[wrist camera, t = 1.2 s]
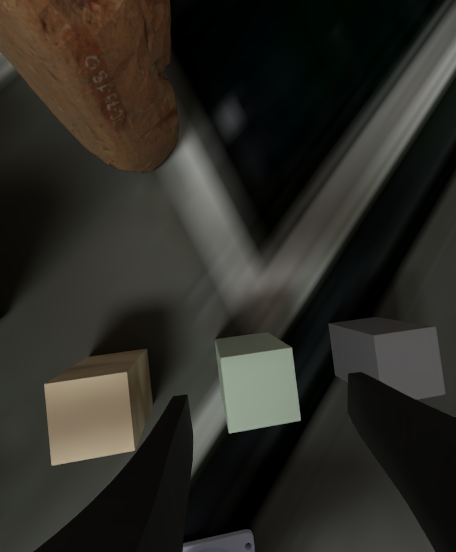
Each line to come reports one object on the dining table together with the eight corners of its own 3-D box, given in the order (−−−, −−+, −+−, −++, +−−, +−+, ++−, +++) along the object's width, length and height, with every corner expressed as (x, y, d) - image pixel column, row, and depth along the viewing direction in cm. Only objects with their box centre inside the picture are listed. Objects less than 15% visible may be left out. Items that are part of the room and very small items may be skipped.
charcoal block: (382, 367, 23) (445, 394, 17) (335, 375, 23) (383, 405, 17) (375, 316, 24) (435, 326, 18) (328, 323, 23) (373, 335, 17)
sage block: (273, 385, 22) (300, 420, 16) (220, 393, 22) (229, 433, 16) (267, 331, 22) (291, 347, 16) (214, 339, 22) (220, 358, 16)
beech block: (153, 404, 21) (134, 450, 15) (94, 414, 21) (51, 465, 15) (147, 348, 21) (126, 371, 15) (88, 356, 21) (44, 384, 15)
